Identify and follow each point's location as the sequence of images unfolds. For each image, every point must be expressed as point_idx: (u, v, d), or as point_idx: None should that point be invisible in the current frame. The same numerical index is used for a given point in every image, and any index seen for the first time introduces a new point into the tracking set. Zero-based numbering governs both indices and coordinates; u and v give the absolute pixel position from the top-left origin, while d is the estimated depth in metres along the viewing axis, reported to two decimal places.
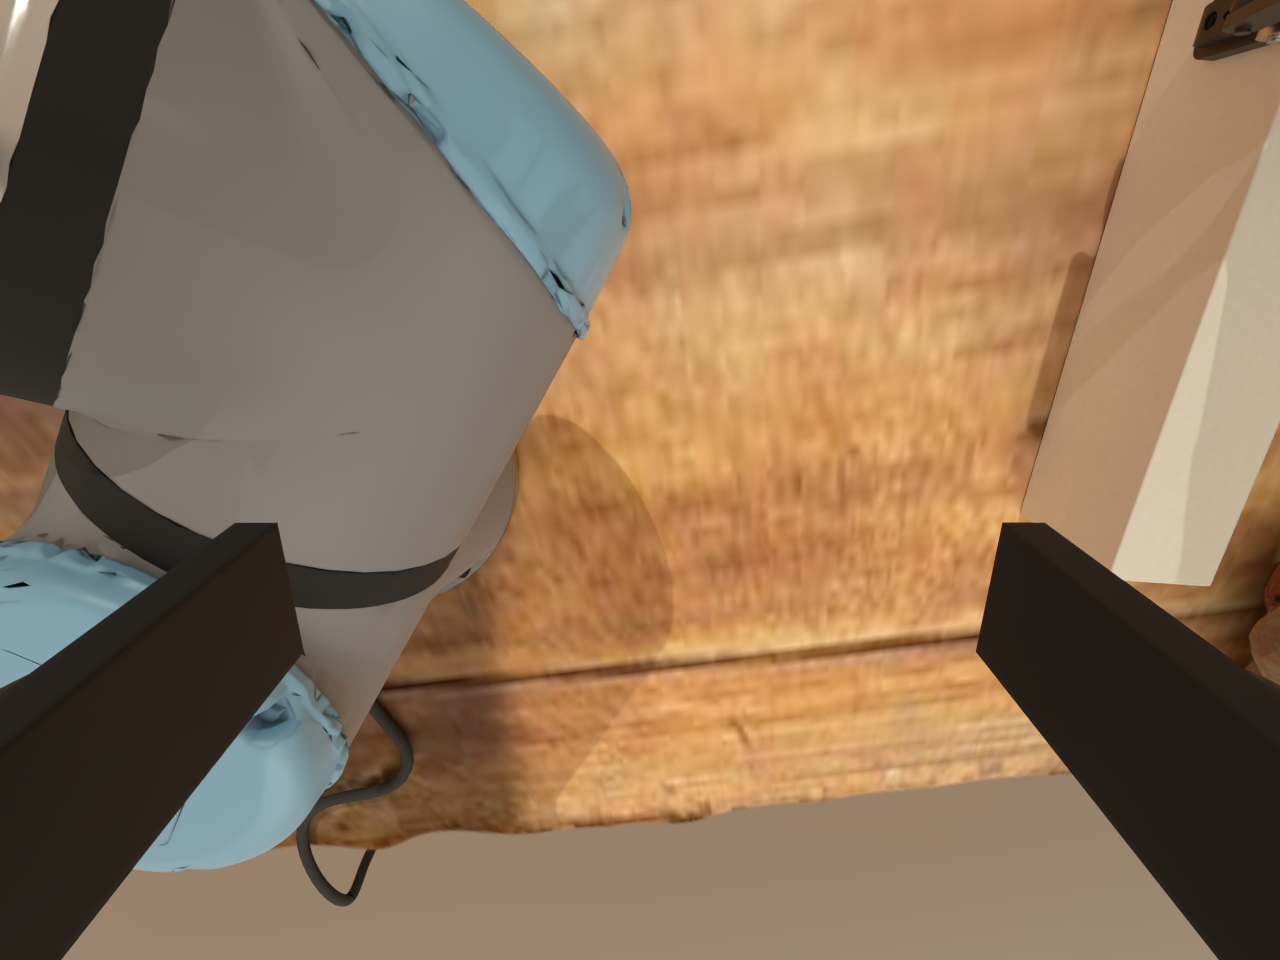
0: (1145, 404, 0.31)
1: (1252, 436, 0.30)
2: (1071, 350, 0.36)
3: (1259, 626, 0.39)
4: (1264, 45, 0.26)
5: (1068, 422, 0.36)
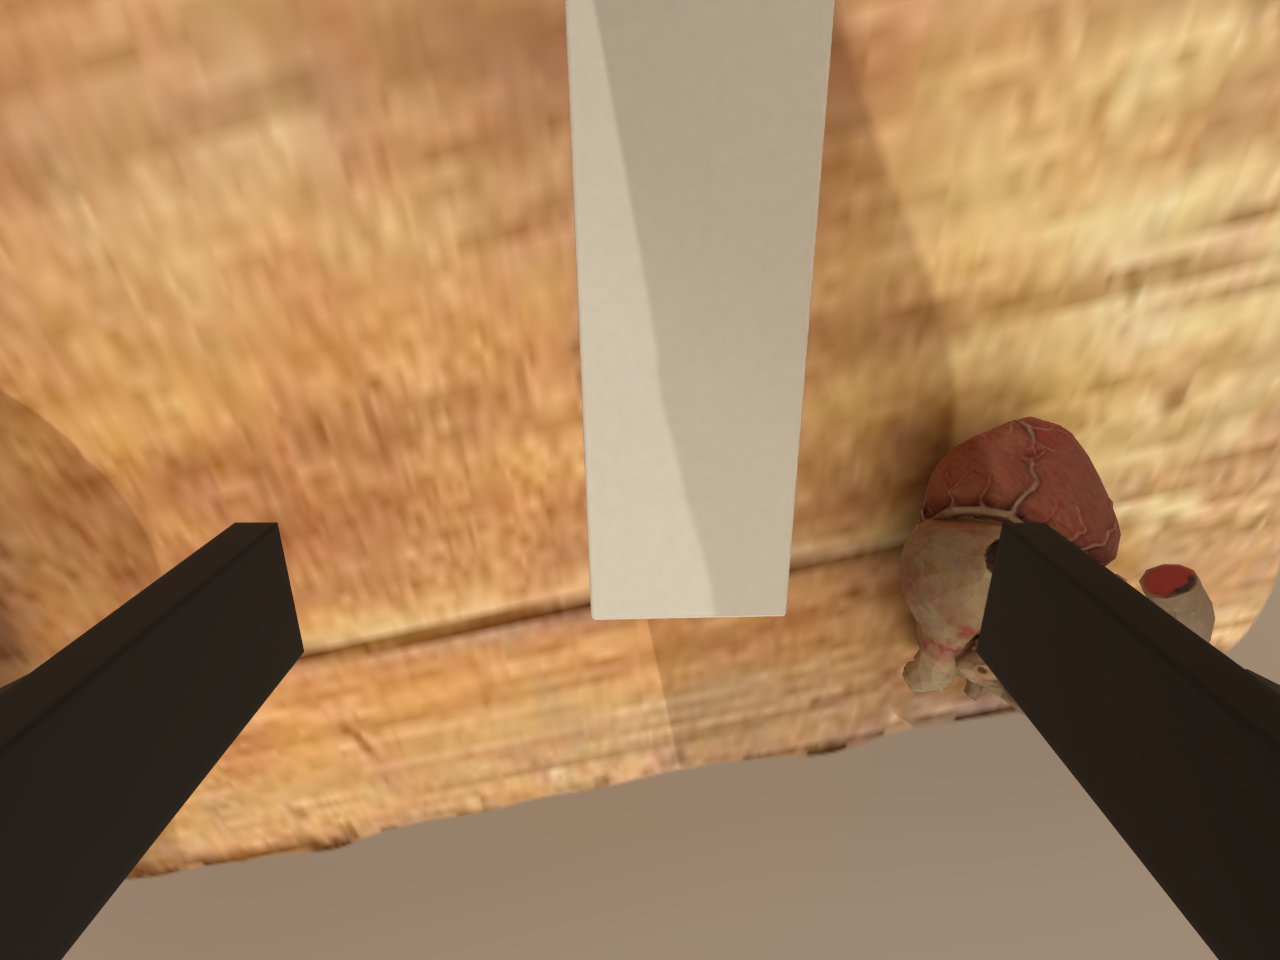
0: None
1: (764, 323, 0.15)
2: None
3: (900, 559, 0.31)
4: None
5: None
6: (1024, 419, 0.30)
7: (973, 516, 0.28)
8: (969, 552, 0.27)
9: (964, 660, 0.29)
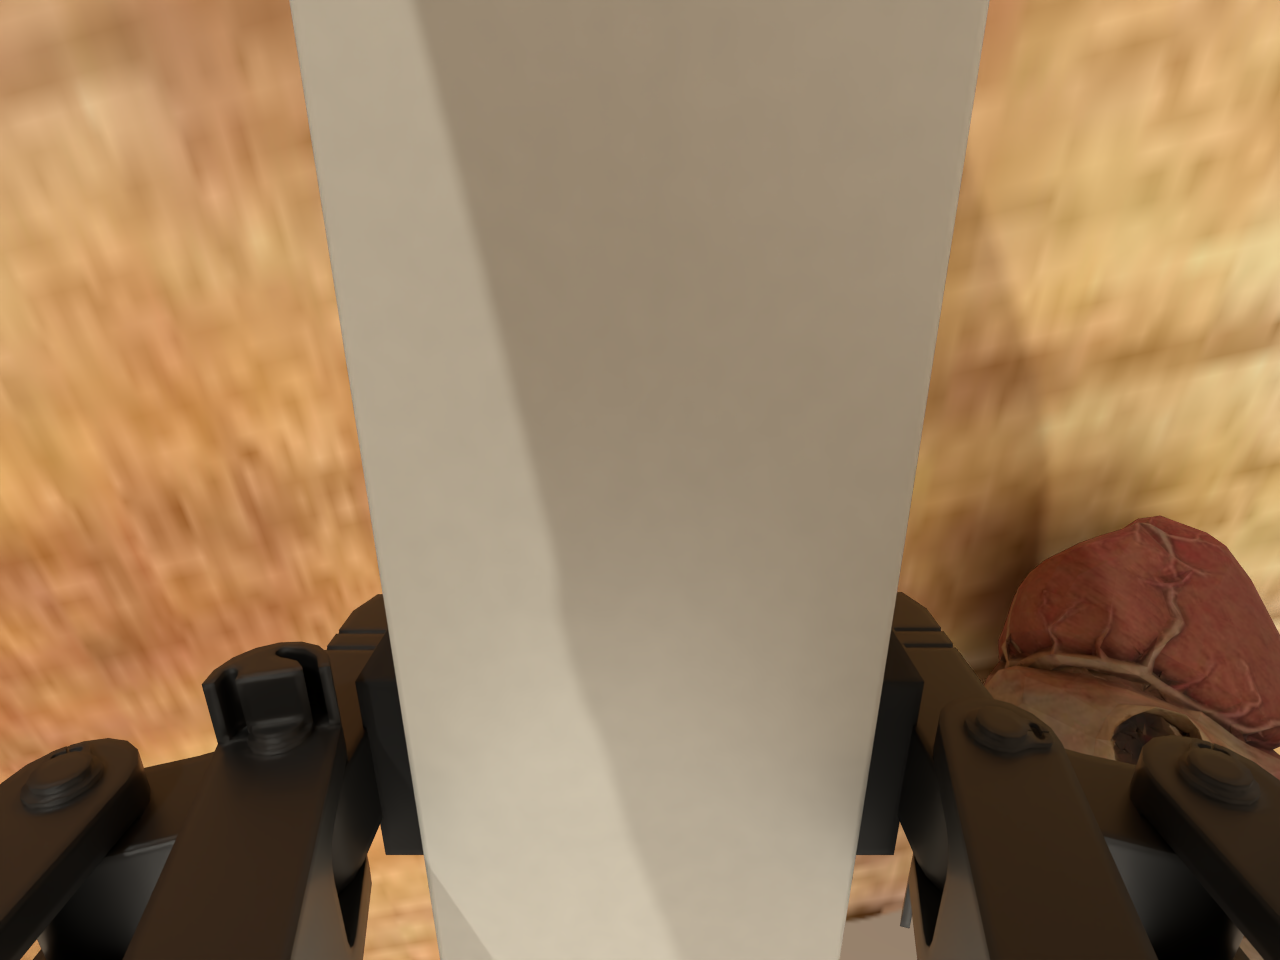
0: None
1: (804, 508, 0.06)
2: None
3: None
4: None
5: None
6: (1152, 521, 0.21)
7: (1087, 670, 0.20)
8: (1086, 730, 0.19)
9: None
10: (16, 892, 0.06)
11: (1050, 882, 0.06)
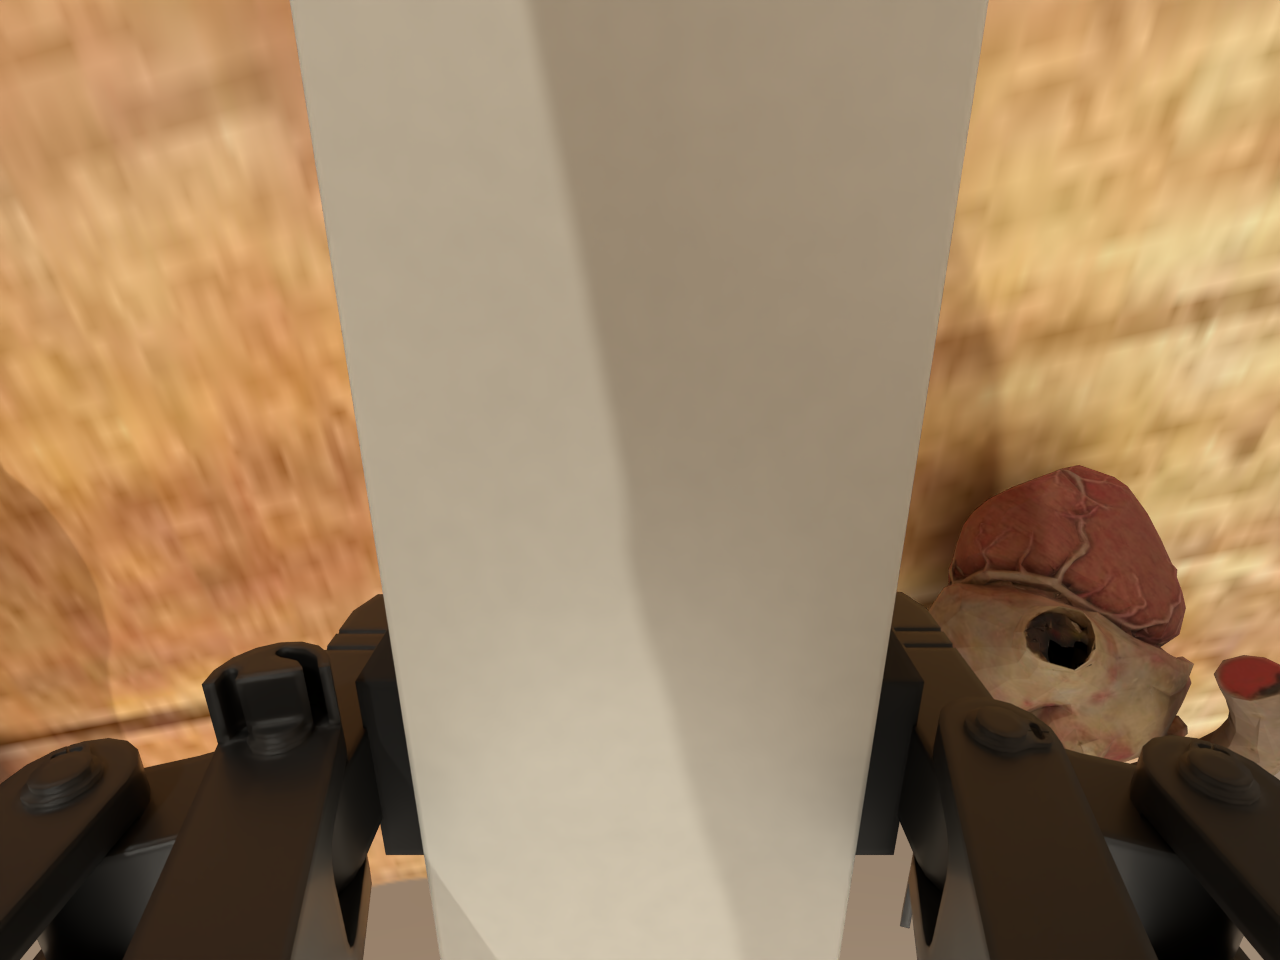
0: None
1: (804, 506, 0.06)
2: None
3: None
4: None
5: None
6: (1072, 468, 0.26)
7: (1011, 583, 0.24)
8: (1007, 627, 0.23)
9: None
10: (17, 892, 0.06)
11: (1051, 882, 0.06)
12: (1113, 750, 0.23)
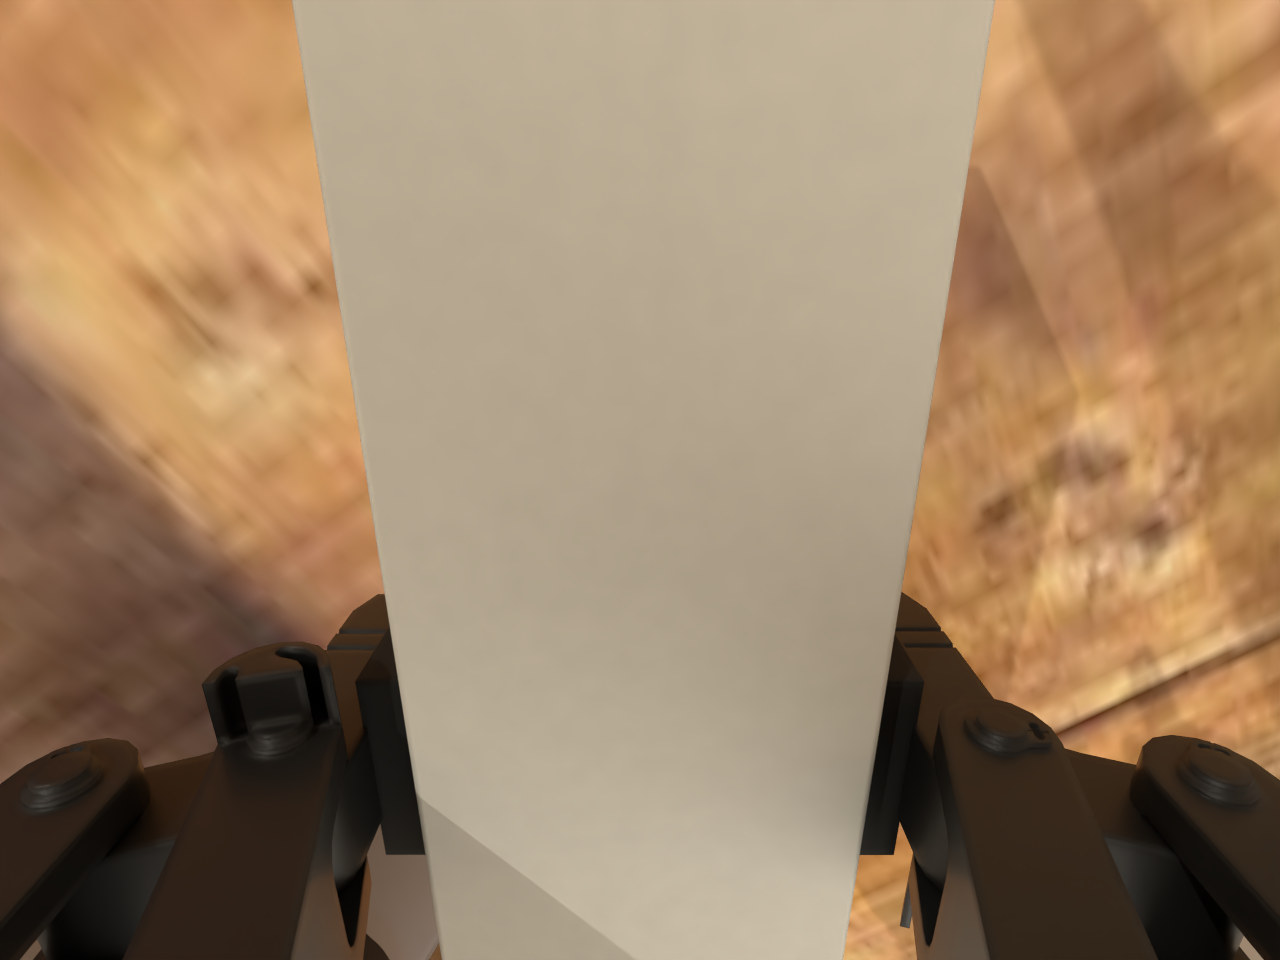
0: None
1: (809, 504, 0.06)
2: None
3: None
4: None
5: None
6: None
7: None
8: None
9: None
10: (17, 892, 0.06)
11: (1050, 882, 0.06)
12: None
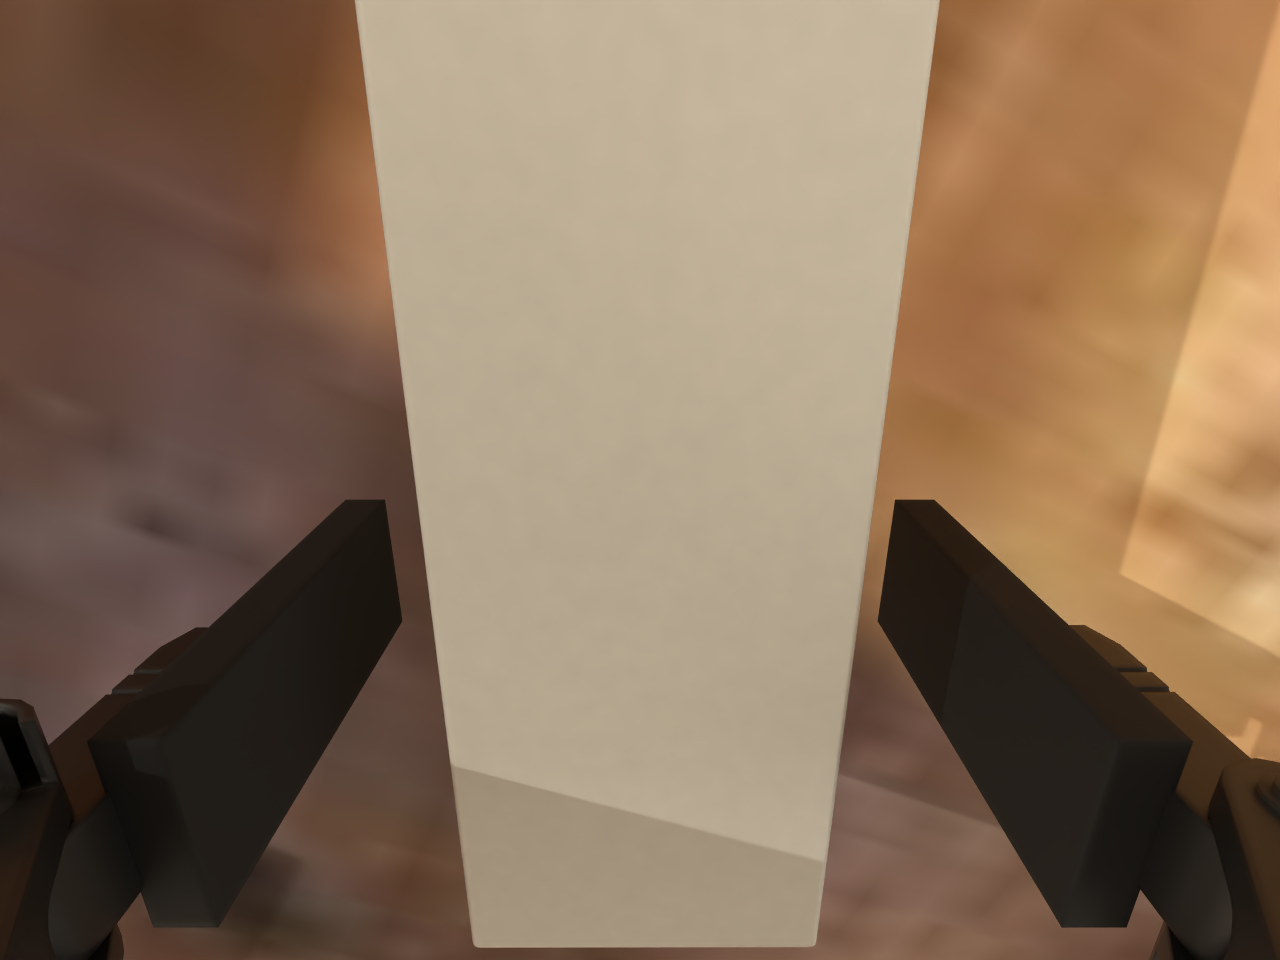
0: None
1: (787, 466, 0.07)
2: None
3: None
4: None
5: None
6: None
7: None
8: None
9: None
10: None
11: None
12: None
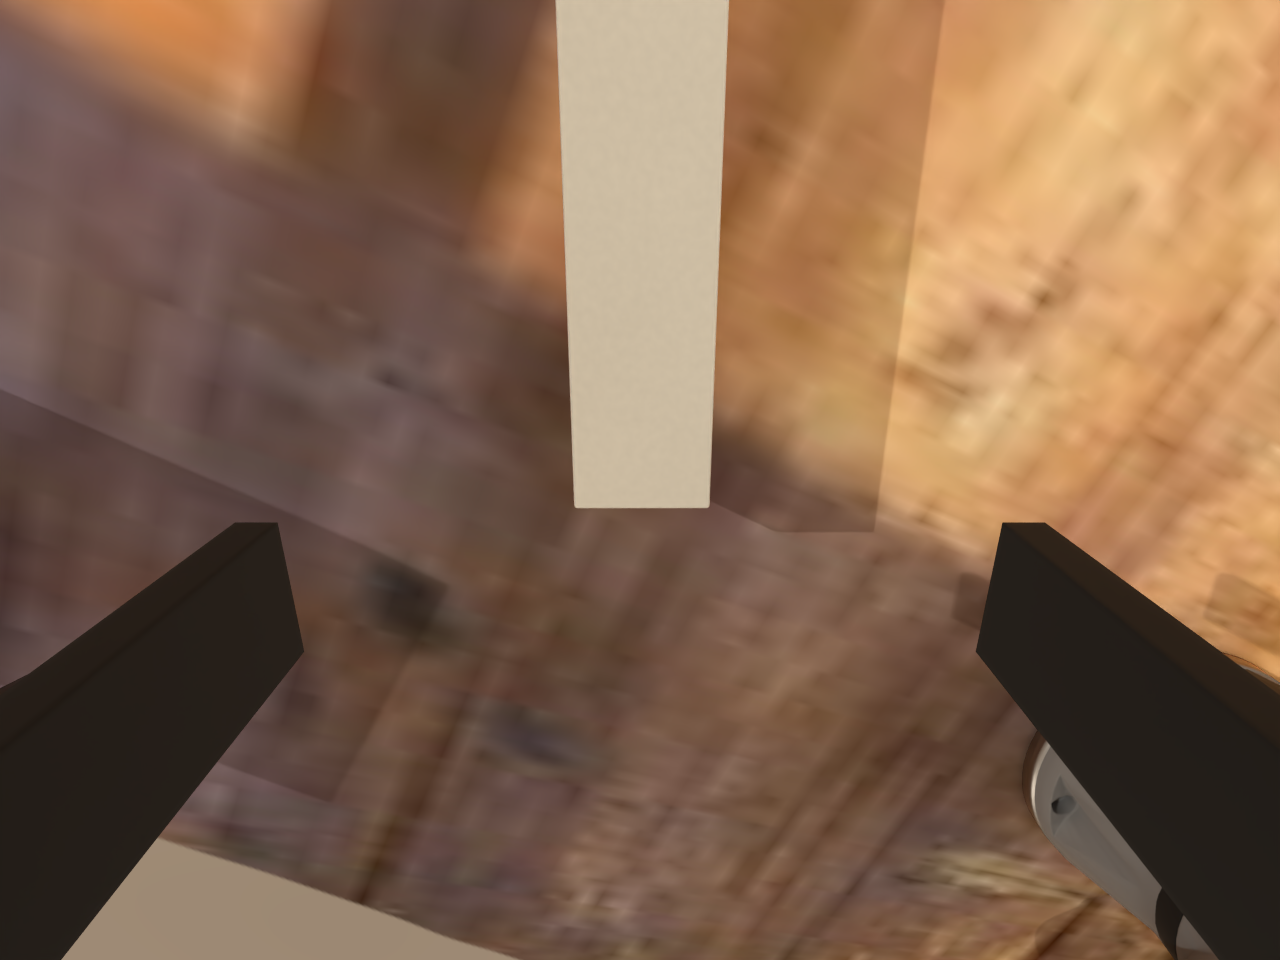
0: None
1: (687, 302, 0.23)
2: None
3: None
4: None
5: None
6: None
7: None
8: None
9: None
10: None
11: None
12: None
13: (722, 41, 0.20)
